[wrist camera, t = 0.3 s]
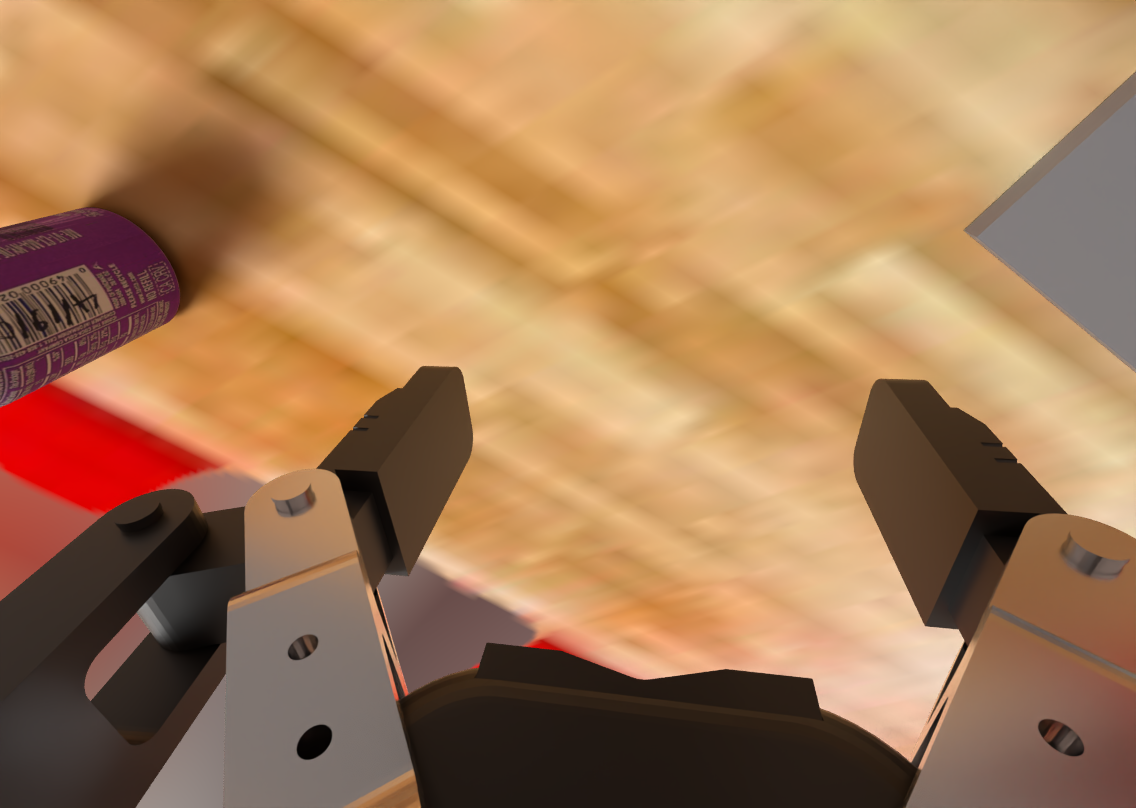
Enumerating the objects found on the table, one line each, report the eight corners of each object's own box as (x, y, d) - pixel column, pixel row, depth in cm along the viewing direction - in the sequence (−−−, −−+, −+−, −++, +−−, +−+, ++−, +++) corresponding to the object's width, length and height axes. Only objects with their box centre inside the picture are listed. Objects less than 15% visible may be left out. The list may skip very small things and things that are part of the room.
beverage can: (74, 178, 29) (-233, 235, 19) (198, 250, 31) (-29, 340, 20) (69, 281, 33) (-190, 374, 23) (180, 342, 34) (-20, 456, 24)
